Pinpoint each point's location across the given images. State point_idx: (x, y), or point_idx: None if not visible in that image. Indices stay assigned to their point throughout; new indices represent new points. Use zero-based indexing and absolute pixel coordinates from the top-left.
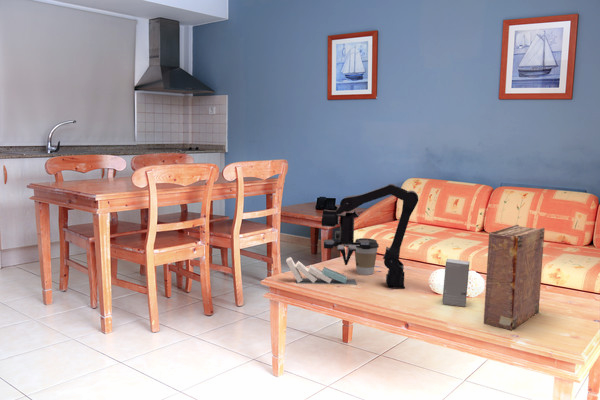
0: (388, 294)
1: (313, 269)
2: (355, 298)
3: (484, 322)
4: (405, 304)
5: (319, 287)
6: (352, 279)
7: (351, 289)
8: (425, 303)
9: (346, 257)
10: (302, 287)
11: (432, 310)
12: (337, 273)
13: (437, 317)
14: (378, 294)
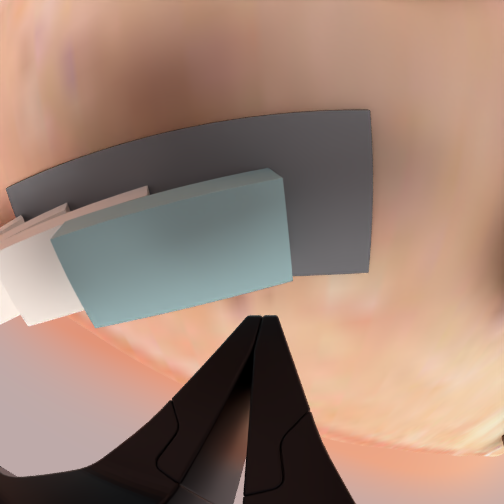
0: (460, 370)
1: (44, 320)
2: (318, 417)
3: (502, 438)
4: (450, 420)
5: (144, 319)
6: (345, 126)
7: (317, 343)
8: (500, 400)
9: (251, 403)
10: (85, 317)
11: (478, 426)
12: (191, 242)
13: (459, 444)
14: (424, 379)
